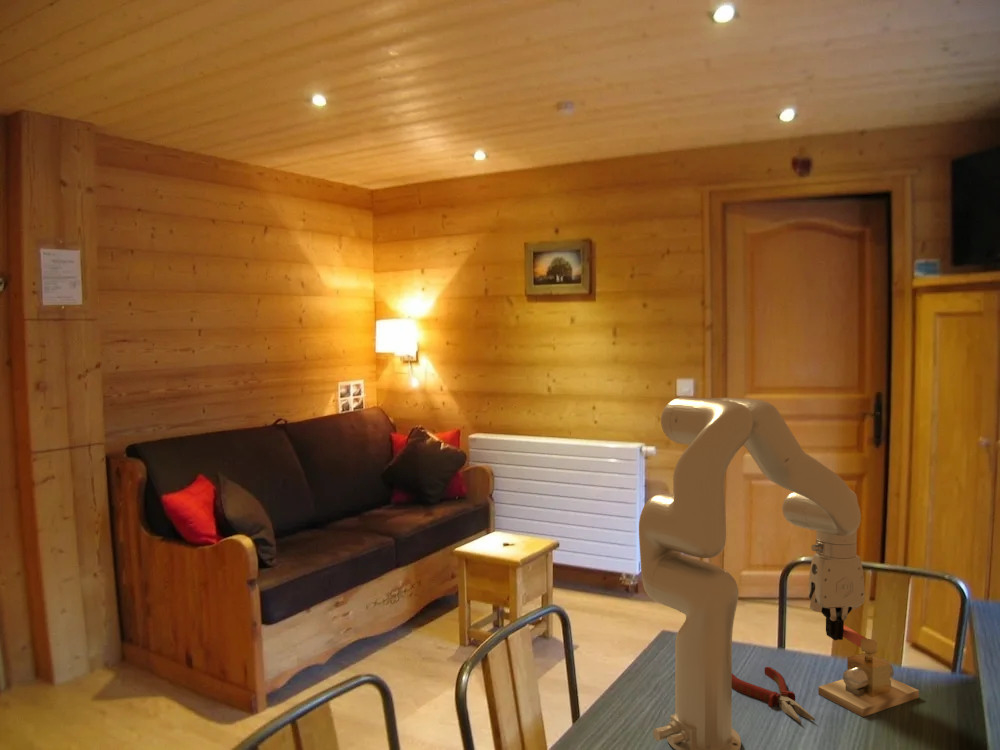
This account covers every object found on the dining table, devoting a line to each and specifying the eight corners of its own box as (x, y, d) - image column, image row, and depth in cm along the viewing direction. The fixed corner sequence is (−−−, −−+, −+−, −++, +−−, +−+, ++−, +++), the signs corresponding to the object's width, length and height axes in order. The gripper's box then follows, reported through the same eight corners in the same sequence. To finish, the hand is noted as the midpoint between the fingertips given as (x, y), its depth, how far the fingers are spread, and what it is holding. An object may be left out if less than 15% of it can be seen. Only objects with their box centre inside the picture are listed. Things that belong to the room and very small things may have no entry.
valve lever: (880, 652, 144) (880, 643, 143) (867, 654, 143) (867, 645, 143) (839, 628, 156) (839, 620, 156) (827, 629, 155) (827, 621, 155)
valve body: (863, 700, 140) (864, 662, 140) (838, 687, 145) (838, 651, 145) (898, 688, 145) (898, 651, 144) (872, 677, 150) (873, 641, 149)
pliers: (780, 731, 133) (780, 717, 133) (721, 682, 153) (721, 669, 153) (835, 723, 136) (835, 709, 136) (770, 676, 155) (770, 663, 155)
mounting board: (862, 716, 137) (862, 709, 137) (818, 694, 146) (818, 686, 146) (918, 697, 144) (918, 690, 144) (873, 676, 153) (873, 669, 153)
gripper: (814, 556, 145) (812, 647, 146) (881, 552, 148) (879, 642, 149) (792, 546, 153) (790, 633, 153) (856, 542, 155) (854, 628, 156)
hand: (834, 637), depth 151 cm, fingers closed
